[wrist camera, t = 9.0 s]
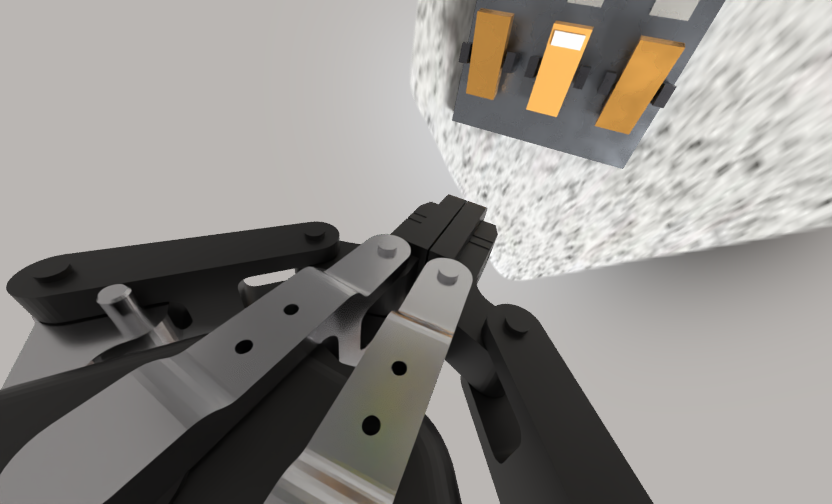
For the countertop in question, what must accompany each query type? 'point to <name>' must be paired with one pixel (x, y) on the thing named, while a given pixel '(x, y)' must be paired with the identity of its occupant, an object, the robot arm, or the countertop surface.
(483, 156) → the countertop surface
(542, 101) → the middle breaker
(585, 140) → the breaker panel
